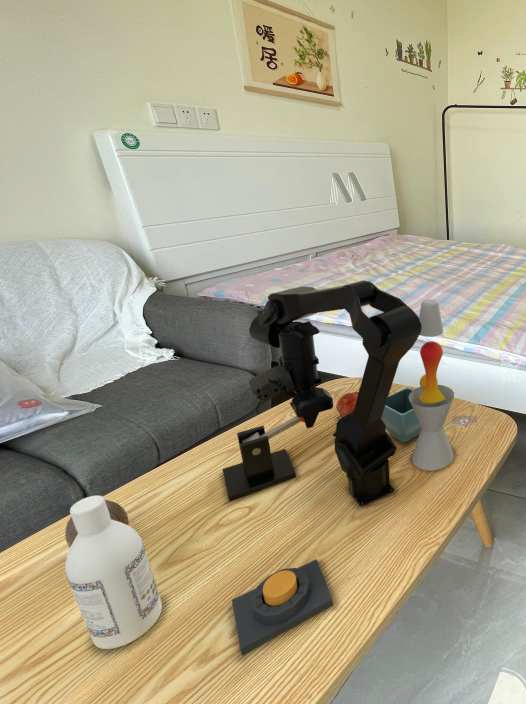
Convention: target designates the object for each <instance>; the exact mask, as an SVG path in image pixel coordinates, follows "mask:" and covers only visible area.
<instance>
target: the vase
mask: <svg viewBox="0 0 526 704" xmlns="http://www.w3.org/2000/svg"><path fill="white" fill-rule="evenodd" d="M105 502H106V505H107V508H108V511H109V514H110V518H111V520H115V521H118V522H121V523H124V524H126V525H128V526H130V521H129V516H128V513H127V511H126V510H125V508H124V507H123V506H122V505H120V503H118V502H115V501H112V500H108V499H105ZM77 535H78V532H77V530H76V527H75V525H74V522H73V519H72V517H71V516H70V518H69V519H68V522H66V527H65V532H64V537H65V538H64V539H65V541H66V544H67V546H68V547H69V548H68V549H70V547H71V545H72V543H73V542H74V540H75V538H76V536H77Z"/></svg>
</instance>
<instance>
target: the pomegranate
mask: <svg viewBox="0 0 526 704" xmlns="http://www.w3.org/2000/svg"><path fill="white" fill-rule="evenodd" d="M358 393H359V391H353V392H347V393H345V394H343V395H342V396H340V398H339V399H338V400H337V402H336V405H335V409H336V411H337V412H338V413H339V416H338V417H337V419H341V418H342V417H344V416H346V415H348V414H350V413H351V412H353V411H354V407H355V404H356V400H357V396H358Z"/></svg>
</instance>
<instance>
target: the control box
mask: <svg viewBox="0 0 526 704" xmlns="http://www.w3.org/2000/svg"><path fill="white" fill-rule="evenodd" d="M285 570H288V571H292V572H293V573H294V574H295V576H296V581H297V591H296V593H295V595H294V596H293V597H292V598H291V599H290V600H289V601H288V602H286V603H284V604H282V605H279V606H270V605H268V604H266V602H265V600H264V595H263V586H264V584H265V582H266V581H267V579H268V578H270V577H271V576H272V575H274V574H275V573H277V572H280V571H285ZM326 581H327V580H326V579H325V575H324V574H323V572H322V568H321V566H320V564H319V561H318V559H317V558H316V559H314V560H311V561H309V562H307V563H305V564H303V565H301V566H299V567H290V568H289V567H288V568H282V569H280V570H277V571H275V572H273V573H271V574H269V575H268V576H267V577H265V578H264V579H263V580H262V581H261V582H260V583H259V584H257V586H256V588H253V589H251V590H249V591H247V592H245V593H243V594H241V595H239V596H236V597H234V598H232V599H231V603H232V609H233V614H234V620H235V627H236V631H237V638H238V643H239V649H240V653H241V656H244V655H246V654H248V653H249V652H251V651H253V650H255V649H257V648H259V647H261V646H263V645H264V644H266V643H267V642H268V643H269V642H270V641H271V640H273V639H275V638H277V637H279V636H280V635H282V634H285V633H286V632H287V631H289V630H291V629H293V628H295V627H296V626H299V625H301V624H302V623H304V622H306V621H307V620H310V619H311V618H313V617H314V616H315V617H316V616H317V615H318V614H320V613H322V612H323V611H326V610H327V609H329V608H331V607H333V606H334V601H333V596H332V594H331V592H330V589H329V587H328V583H327V582H326Z"/></svg>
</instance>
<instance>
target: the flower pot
mask: <svg viewBox="0 0 526 704" xmlns="http://www.w3.org/2000/svg"><path fill="white" fill-rule="evenodd" d="M413 390H414V389H413V388H410V387H404V388H402V389H400V390H398V391H395V392H393V393H391V394H389V395H388V398H387V402H386V405H385V408H384V411H383V414H382V417H381V419H382V420H383V422H384V423H385V425H386V430H385V431H386V432H387V433H389V434H390V436H392V437H394V438H395V439H398V440H399V441H401V442H402V443H407V442H409V441H411V440H412V439H414V438H416V437H419V435H420V432H421V429H422V427H421V425H420V423H419V421H418V418H417V416H416V414H415V412H414V410H413V407H412V405H411V403H410V400H409V394H410V393H411V392H412V391H413Z"/></svg>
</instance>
